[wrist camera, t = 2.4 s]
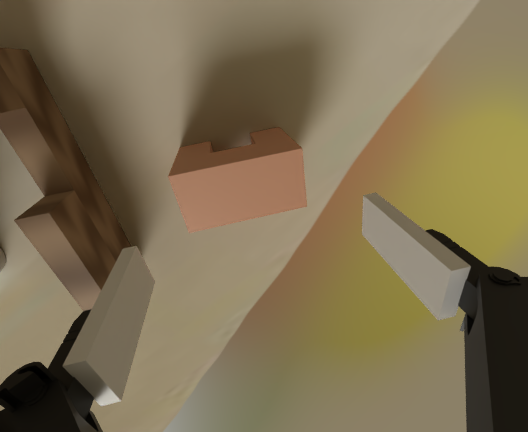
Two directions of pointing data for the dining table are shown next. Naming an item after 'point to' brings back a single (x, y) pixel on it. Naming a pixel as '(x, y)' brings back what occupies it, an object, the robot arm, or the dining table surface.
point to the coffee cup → (2, 260)
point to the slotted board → (57, 184)
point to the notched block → (238, 180)
